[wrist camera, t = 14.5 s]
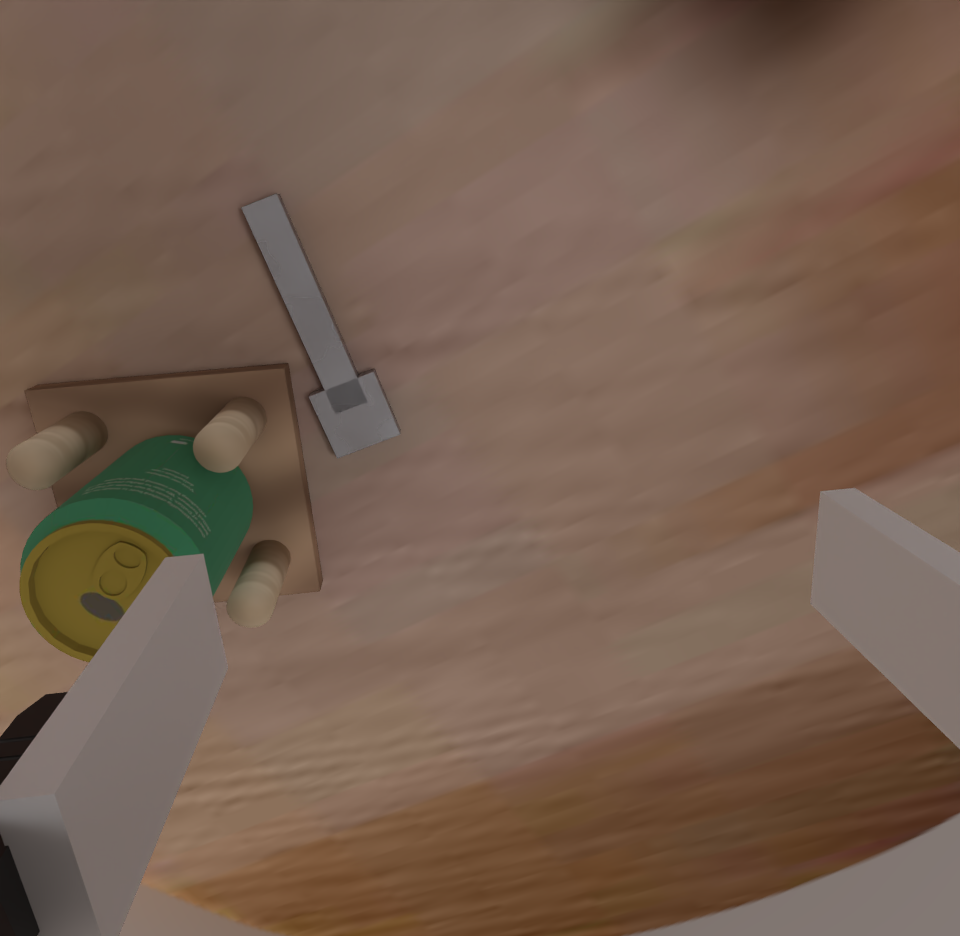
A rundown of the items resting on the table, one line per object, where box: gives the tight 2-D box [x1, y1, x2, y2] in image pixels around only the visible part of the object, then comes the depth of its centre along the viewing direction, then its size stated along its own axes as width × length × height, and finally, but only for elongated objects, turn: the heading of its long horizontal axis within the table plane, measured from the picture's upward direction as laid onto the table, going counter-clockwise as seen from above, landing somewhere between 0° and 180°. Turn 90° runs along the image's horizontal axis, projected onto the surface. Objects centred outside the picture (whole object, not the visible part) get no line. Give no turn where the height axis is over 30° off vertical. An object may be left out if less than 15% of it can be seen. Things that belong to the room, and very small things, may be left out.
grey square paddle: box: [242, 194, 401, 458], centre depth 41 cm, size 14×4×1 cm, turn 20°
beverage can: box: [20, 435, 253, 662], centre depth 37 cm, size 8×8×12 cm
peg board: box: [6, 363, 323, 628], centre depth 40 cm, size 14×14×8 cm
